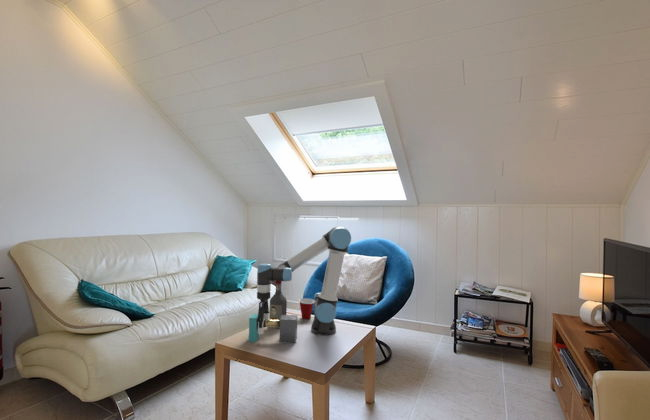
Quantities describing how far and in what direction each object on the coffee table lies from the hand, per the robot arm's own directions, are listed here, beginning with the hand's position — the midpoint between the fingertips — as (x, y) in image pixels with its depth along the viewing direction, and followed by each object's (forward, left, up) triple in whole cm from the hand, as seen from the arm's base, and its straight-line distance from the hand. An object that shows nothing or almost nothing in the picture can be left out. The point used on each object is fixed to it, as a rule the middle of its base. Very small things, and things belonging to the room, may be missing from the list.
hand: (263, 329), depth 194 cm
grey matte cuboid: (-14, 0, -6) cm, 16 cm away
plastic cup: (-22, -40, -6) cm, 46 cm away
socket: (+5, 0, -6) cm, 8 cm away
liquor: (-5, -23, -6) cm, 24 cm away
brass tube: (-3, 0, +1) cm, 3 cm away
